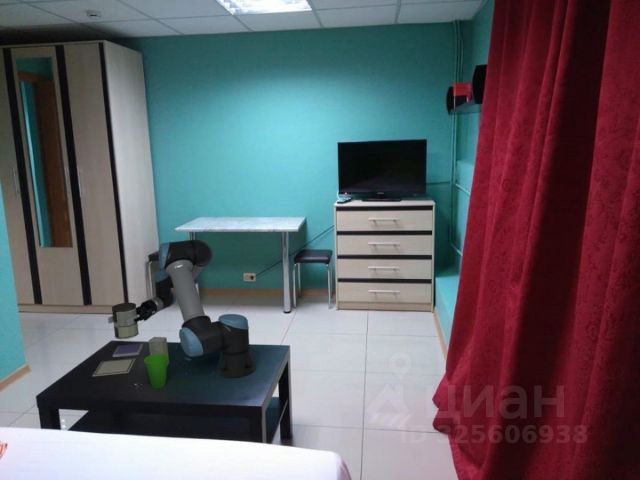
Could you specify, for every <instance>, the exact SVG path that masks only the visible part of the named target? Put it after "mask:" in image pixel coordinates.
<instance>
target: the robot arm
mask: <svg viewBox="0 0 640 480" xmlns="http://www.w3.org/2000/svg"><path fill="white" fill-rule="evenodd" d="M158 248H159V250H158V266H159V270H156V271H155V272H154V280H153V282H154V289H155V296H153V297H151V298H149V299H147V300H145V301H142V302H141V304H140V305H139V306H136V312H137V316H135V317H132V318H130V319H128V320H127V326H130V325H132V324H134V323H136V322H137V323H138V322H142V321H144V322H147V321H148V320H149V319H150V318H151V317H153V316H154V315H156V314H158V312H160V311H163V310H166V309H167V308H170V307H171V306H173V305H174V304H175V303H176V301H177V302H178V306H179V309H180V312H181V317H182V319H183V322H182V323H181V328H180V329H179V331H178V338H179V340H180V342H179V343H180V346H181V347H182V350H183V352H184V353H185V355H187V356H188V357H191V358H192V357H193V358H194V357H201V356H202V355H207V354H211V353H215V352H219V351H220V357H219V360H218V363H217V373H218V375H219V376H221V377H224V378H228V379H229V378H230V379H232V378H233V379H237V378H241V377H246V376H248V375H251V374H252V373H253V372H254V371H255V368H256V367H255V366H256V365H255V364H256V363H255V360H254V358H253V355H252V353H251V349H250V331H249V330H250V329H249V328H250V327H249V322H248V321H249V320H248V319H247V317H246V316H245V315H241V314H236V313H224V314H221V315H219V316H218V320H217V321H211V320H212V319H211V317H210V316H209V315H207V314H205V310H204V308H203V304H202V302H201V298H200V295H199V292H198V289H197V286H196V285H198V284H199V283H200V277H201V276H200V273H201V272H202V271H203V269H204V267H206V266H208V265H209V264H210V263H211V261H212V259H213V250H212V248H211V247H210V245H209V244H208V243H206V242H205V241H203V240H200V239H188V240H178V241H169V242H168V241H167V242H163V243H161V244H160V245H159V247H158ZM172 289H174V292H173V291H172ZM107 321H108V322H107V324H109V325H110V324H112V323H114V322H113V315H112V316H109V317H107Z"/></svg>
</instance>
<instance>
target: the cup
mask: <svg viewBox="0 0 640 480" xmlns="http://www.w3.org/2000/svg"><path fill="white" fill-rule="evenodd" d="M168 355H169V354H168ZM168 355H167V354H153V355H150V354H149V355H148V356H146V357H144V359H143V362H144V363H145V367H146V371H147V374H148V379H149V381H150V384H151V386H152V388H154V389H156V388H157V389H158V388H163V387H164V386H165V385H166V383H167V371H168V370H167V369H168V365H167V361H168V358H169V359H170V357H169V356H168Z"/></svg>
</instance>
